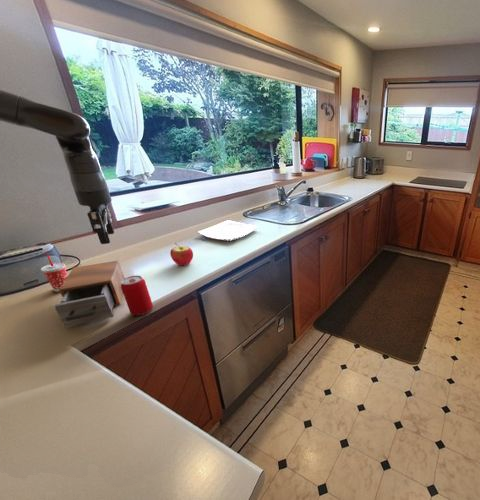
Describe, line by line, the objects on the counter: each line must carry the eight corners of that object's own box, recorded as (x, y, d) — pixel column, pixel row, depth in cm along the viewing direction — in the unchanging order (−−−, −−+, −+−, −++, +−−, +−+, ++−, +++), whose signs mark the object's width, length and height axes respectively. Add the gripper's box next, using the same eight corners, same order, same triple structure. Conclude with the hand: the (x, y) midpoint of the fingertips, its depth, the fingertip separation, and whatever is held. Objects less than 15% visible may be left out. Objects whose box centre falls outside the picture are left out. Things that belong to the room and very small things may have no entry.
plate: (228, 223, 170) (227, 219, 169) (261, 229, 162) (261, 225, 161) (194, 236, 149) (193, 232, 148) (231, 245, 142) (230, 240, 141)
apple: (176, 259, 125) (171, 239, 121) (197, 258, 127) (192, 238, 123) (170, 268, 118) (164, 247, 114) (192, 267, 120) (187, 245, 116)
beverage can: (148, 302, 96) (139, 272, 91) (156, 309, 93) (147, 278, 88) (127, 311, 92) (116, 280, 87) (135, 319, 89) (123, 287, 84)
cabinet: (120, 304, 95) (111, 280, 91) (71, 315, 89) (59, 289, 85) (126, 282, 107) (118, 260, 103) (83, 290, 101) (73, 267, 97)
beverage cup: (55, 285, 104) (39, 251, 98) (76, 282, 106) (62, 249, 100) (47, 294, 99) (30, 258, 93) (70, 290, 101) (54, 256, 95)
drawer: (110, 324, 85) (102, 303, 81) (60, 336, 79) (48, 314, 76) (120, 293, 99) (113, 274, 96) (77, 301, 94) (68, 282, 91)
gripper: (79, 183, 86) (97, 232, 92) (66, 193, 75) (87, 249, 81) (111, 182, 89) (125, 229, 96) (103, 191, 78) (120, 244, 85)
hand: (108, 238), depth 89 cm, fingers open, 8 cm apart
